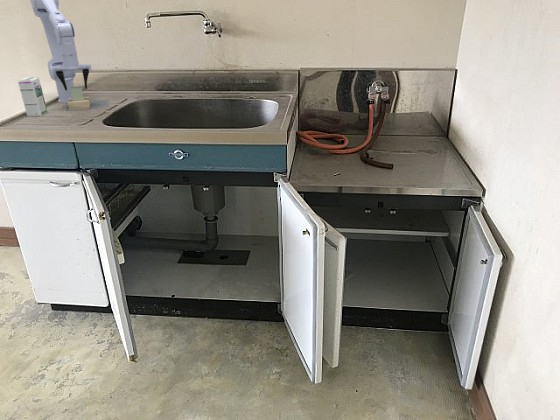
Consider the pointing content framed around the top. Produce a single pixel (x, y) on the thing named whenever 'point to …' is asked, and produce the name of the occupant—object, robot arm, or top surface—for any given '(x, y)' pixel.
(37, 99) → the syrup box
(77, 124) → the top surface
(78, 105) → the oak base
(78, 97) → the sage block
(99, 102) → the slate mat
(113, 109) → the top surface
